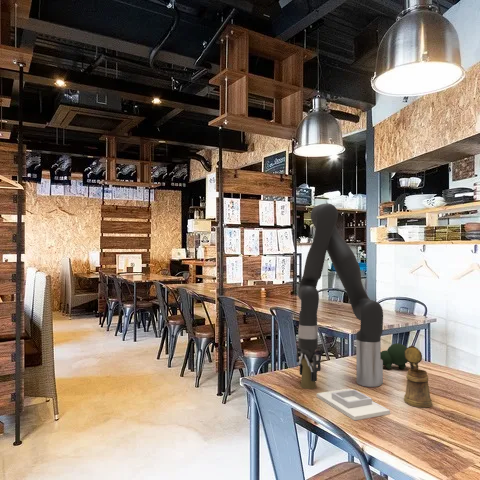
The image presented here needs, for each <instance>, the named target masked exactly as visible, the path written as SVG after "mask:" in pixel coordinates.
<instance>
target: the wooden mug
mask: <svg viewBox="0 0 480 480" xmlns="http://www.w3.org/2000/svg"><path fill="white" fill-rule="evenodd" d="M404 354H405V359H406V360H407V361H408V362H407V363H409V366H410V368H409V369H408V370H407V373H406V377H405V378H406V379H407V380H406V387H405V394H404V397H403V401H404V403H405V404H407V405H409V406H412V407H415V408H422V409H423V408H431V407H432V406H433V401H432V398H431V393H430V388H429V387H430V385H429V376H428V371H426V370H425V369H419V363H421V362H422V360H423V353H422V352H421V351H420V349H419V348H418V347H416V346H414V345H413V344H411V345H410V346H408V347H407V349H406V350H405V353H404Z"/></svg>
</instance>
